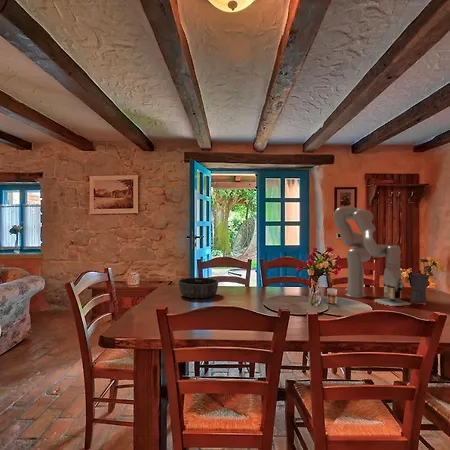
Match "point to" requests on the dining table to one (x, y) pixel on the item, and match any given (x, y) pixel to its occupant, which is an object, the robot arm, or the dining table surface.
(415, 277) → the moka pot
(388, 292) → the birch collar
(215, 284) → the bundt pan
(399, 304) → the post board
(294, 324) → the dining table surface
